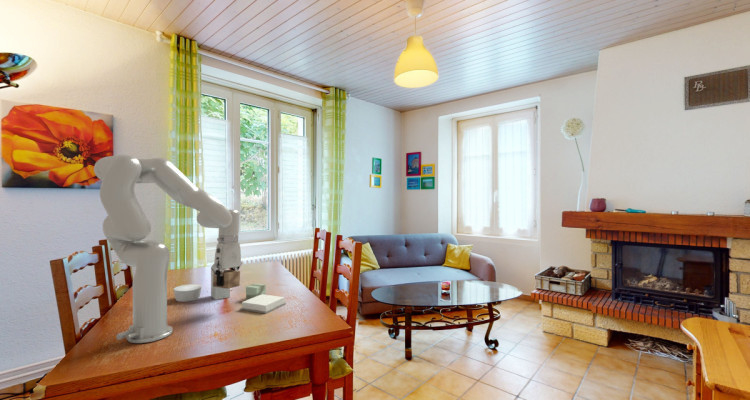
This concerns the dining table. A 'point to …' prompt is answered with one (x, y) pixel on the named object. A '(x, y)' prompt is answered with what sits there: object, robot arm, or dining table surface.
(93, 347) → the dining table surface
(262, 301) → the plinth
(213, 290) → the small box
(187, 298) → the ramekin
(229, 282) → the walnut brick
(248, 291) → the sage cube
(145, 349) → the dining table surface
